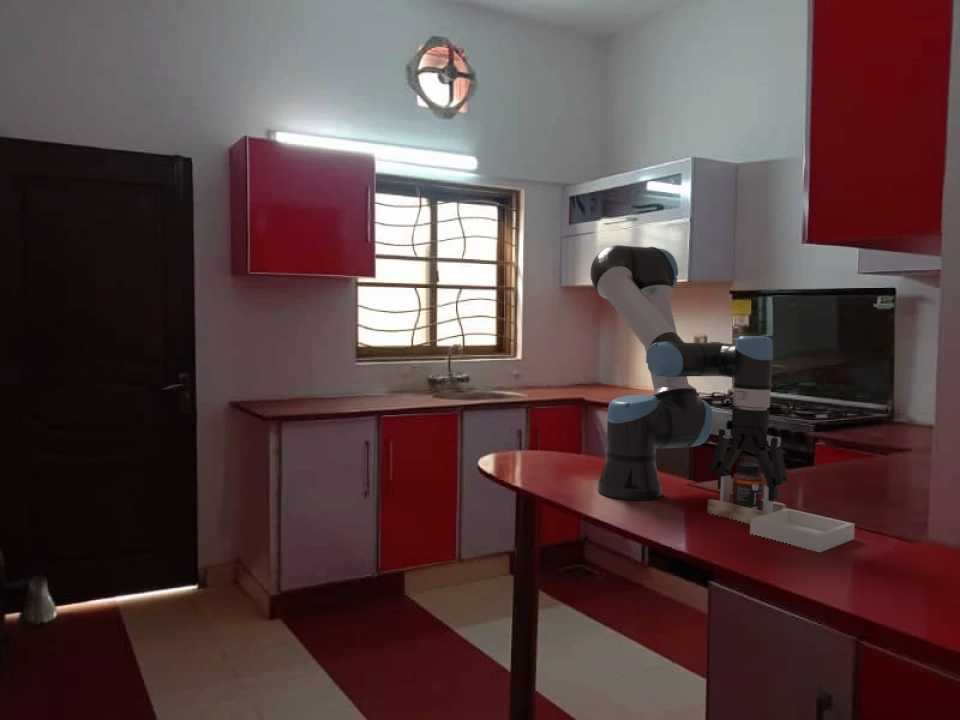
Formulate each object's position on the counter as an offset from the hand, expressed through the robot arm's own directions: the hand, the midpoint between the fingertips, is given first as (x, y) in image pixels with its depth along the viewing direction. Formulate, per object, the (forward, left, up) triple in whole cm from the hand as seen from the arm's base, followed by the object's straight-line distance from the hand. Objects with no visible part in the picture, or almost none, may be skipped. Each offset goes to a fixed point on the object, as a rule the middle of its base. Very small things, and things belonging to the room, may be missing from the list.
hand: (745, 510), depth 161 cm
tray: (+15, -5, -1) cm, 16 cm away
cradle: (0, 0, -1) cm, 1 cm away
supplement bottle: (0, 0, -1) cm, 1 cm away
